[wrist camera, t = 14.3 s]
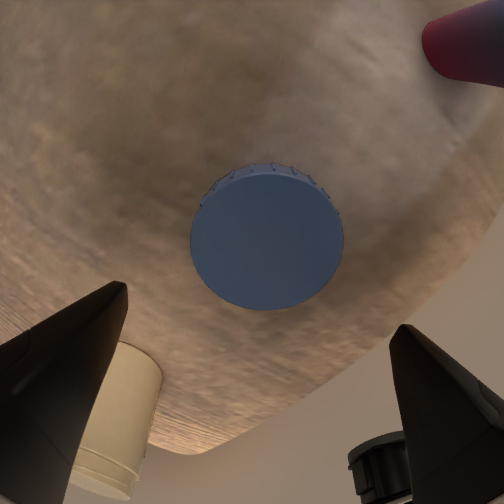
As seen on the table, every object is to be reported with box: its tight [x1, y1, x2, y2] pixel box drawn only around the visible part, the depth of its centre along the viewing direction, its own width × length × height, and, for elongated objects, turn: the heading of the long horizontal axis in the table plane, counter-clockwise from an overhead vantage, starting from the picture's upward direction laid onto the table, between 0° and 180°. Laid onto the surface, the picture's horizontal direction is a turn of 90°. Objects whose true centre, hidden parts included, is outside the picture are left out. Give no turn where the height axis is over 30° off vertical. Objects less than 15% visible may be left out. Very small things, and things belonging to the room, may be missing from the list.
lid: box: [190, 162, 344, 310], centre depth 14 cm, size 7×7×2 cm
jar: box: [69, 342, 163, 500], centre depth 16 cm, size 6×6×10 cm
